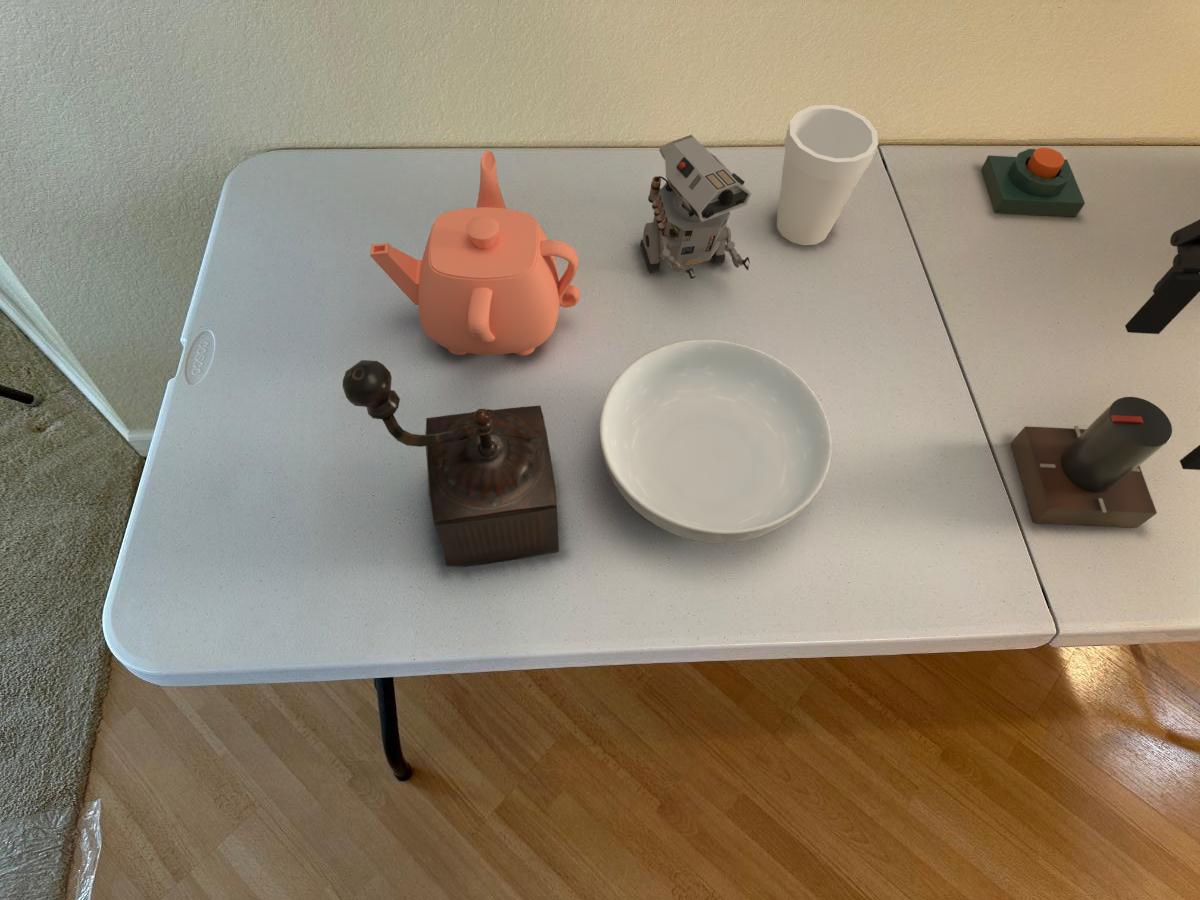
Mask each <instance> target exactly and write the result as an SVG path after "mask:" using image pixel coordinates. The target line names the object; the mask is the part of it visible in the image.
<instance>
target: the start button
mask: <svg viewBox="0 0 1200 900" xmlns="http://www.w3.org/2000/svg"><path fill="white" fill-rule="evenodd" d="M1036 149H1037V150H1035V151H1034V153H1033V154H1032V156H1031V158H1030V160H1029V161H1028V163H1027V169H1028V170H1029V171H1030V172H1031V173H1033V174H1034V175H1036V176H1039V177H1042V178H1053V177H1055V176H1056V175H1057V173H1058V172H1059V170H1060V168H1061V167H1062V165H1063V164H1064V159H1065V158H1064V156H1063V155H1062V153H1060V152H1059V151H1057V150H1056V149H1054V148H1051V147H1039V148H1036Z"/></svg>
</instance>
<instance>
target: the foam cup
mask: <svg viewBox="0 0 1200 900" xmlns="http://www.w3.org/2000/svg"><path fill="white" fill-rule="evenodd" d="M878 146H879V137H878V131H877V129H876V128H875V126H874V125H873V124H872V123H871V122H870V121H869V119H868V118H867V117H865V116H863V115H862V114H859V113H858V112H857V111H854V110H853V109H850V108H848V107H843V106H838V105H835V104H822V105H821V104H819V105H818V104H817V105H811V106H809V107H806V108H804V109H800V110H798V111H797V112H796V113H795V114H794V116H793V117H792V118H791V119H790V120H789V124H788V127H787V131H786V134H785V137H784V157H783V164H782V165H783V166H782V173H781V181H780V190H779V197H778V204H777V205H778V206H777V214H776V229H777V231H778V232H779V234H780V235H781V237H783V238H785V239H786V240H787V241H789V242H790V243H793V244H797V245H801V246H815V245H817V244H819V243H821V242H824V241H825V240H826V238H827V237H828V235H829V234H830V232H831V231H832V229H833V227H834V225H835V223H836V222H837V220H838V219H839V216H840V215H841V213H842V212H843V209H844V208H845V206H846V204H847V203H848V200H849V199H850V197H851V195H852V194H853V192H854V190H855V188H856V186H857V185H858V182H859V181H860V179H861V177H862V176H863V174H864V173H865V172H866V170H867V169H868V168H869V166H870V165H871V163H872V161H873V159H874V156H875V153H876V151H877V149H878Z"/></svg>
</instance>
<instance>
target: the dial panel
mask: <svg viewBox="0 0 1200 900" xmlns="http://www.w3.org/2000/svg"><path fill="white" fill-rule="evenodd" d="M1086 429H1087V428H1080V427H1079V425H1073V428H1069V427H1068V428H1067V427H1047V426H1028V425H1027V426H1024V427H1023V428H1022V429H1021V430H1020V432H1019V433H1018V434H1017V435H1016V436H1015V437H1014V438H1013V439H1012V440H1011V442H1010V445H1011V448H1012V452H1013V456H1014V459H1015V463H1016V466H1017V470H1018V474H1019V477H1020V480H1021V484H1022V488H1023V492H1024V495H1025V498H1026V502H1027V506H1028V510H1029V514H1030V517H1031V520H1032V523H1033V524H1053V525H1073V526H1092V527H1093V526H1094V527H1115V528H1116V527H1117V528H1118V527H1119V528H1135V529H1137V528H1139V527H1140V526H1142V525H1143V524H1144V523H1146V522H1147V521H1149V520H1150V519H1151V518H1153V517H1154V516H1156V515H1157V514H1158V511H1157V509H1156V506H1155V504H1154V501H1153V499H1152V496H1151V493H1150V489H1149V487H1148V485H1147V482H1146V479H1145V477H1144V474H1143V471H1142V469H1141V465H1140V466H1138V467H1137V468H1136V469H1135V470H1134V471H1132V472H1131V473H1130V474H1129V475H1128V476H1127V477H1125V478H1124V479H1123V480H1122V481H1121V482H1119V483H1118V484H1117V485H1116V486H1115V487H1113V488H1112V489H1110V490H1108V491H1105V492H1093V491H1089V490H1086V489H1084V488H1082V487H1080V486H1078V485H1077V484H1075V483H1074V482H1073V481H1072V480H1071V479H1070V478H1069V477H1068V476H1067V475H1066V473H1065V471H1064V469H1063V467H1062V455H1063V453H1064V451H1065V450H1066V449H1067V448H1068V447H1069V446H1070V445H1071V444H1072V443H1073V442H1074V441H1075V440H1076V439H1077V438H1078V437H1079V436H1080V435H1081V434H1082V433H1083V432H1084V431H1085V430H1086Z"/></svg>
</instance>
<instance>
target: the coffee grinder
mask: <svg viewBox="0 0 1200 900" xmlns="http://www.w3.org/2000/svg"><path fill="white" fill-rule="evenodd" d="M392 379H393V377H392V374H391V371H389V369H388V368H387V367H386V366H385V364H383V363H382V362H380V361H378V360H366V359H362V360H360V361H358V362H357V363H355V364H354V365H352V366H351V367H350V368H349V369H347V370H346V371H345V373H344V376H343V378H342V386H341V387H342V390H343V393H344V395H345V398H346V399H347V401H348V402H349V403H350V404H352V405H353V406H356V407H362V408H363V407H364V408H366V410H367V415H368V416H370V417H371V418H372V419H375V420H382V421H383V424H384V426H385V428H386V430H387V431H388V433H389V434H390V435H391V436H392V438H394V439H395V440H396V441H397V442H399V443H400V444H403V445H405V446H407V447H417V448H418V447H420V448H422V447H425V455H426V457H425V458H426V467H427V470H426V471H427V491H428V498H429V504H430V509H431V514H432V515H431V516H432V520H433V525H434V529H435V532H436V535H437V538H438V540H439V543H440V546H441V547H440V548H441V550H442V553H443V557H444V562H445V566H446V567H466V568H467V567H473V566H481V565H488V564H495V563H502V562H503V563H504V562H510V561H514V560H521V559H527V558H531V557H537V556H543V555H548V554H551V553H553V554H554V553H558V552H559V551H560V542H559V541H560V540H559V519H558V503H557V491H556V483H555V476H554V468H553V464H552V457H551V449H550V444H549V436H548V432H547V426H546V422H545V416H544V414H543V411H542V407H541V405H531V406H529V405H528V406H518V407H508V408H507V407H506V408H498V409H488V408H487V409H486V408H478V409H476V410H475V411H472V412H464V413H457V414H447V415H440V416H432V417H426V418H425V419H426V420H425V433H424V434H417V433H411V432H409V431H407V430H405V429H403V428H402V426H401V425H400V424H399V422H398V421H397V419H396V417H395V415H394V414H395V413H396V411H397V410H398V409H399V406H400V402H401V398H400V396H399V395H398V394H397V392H396V391H395V390H393V389H392V381H393V380H392Z"/></svg>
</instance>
